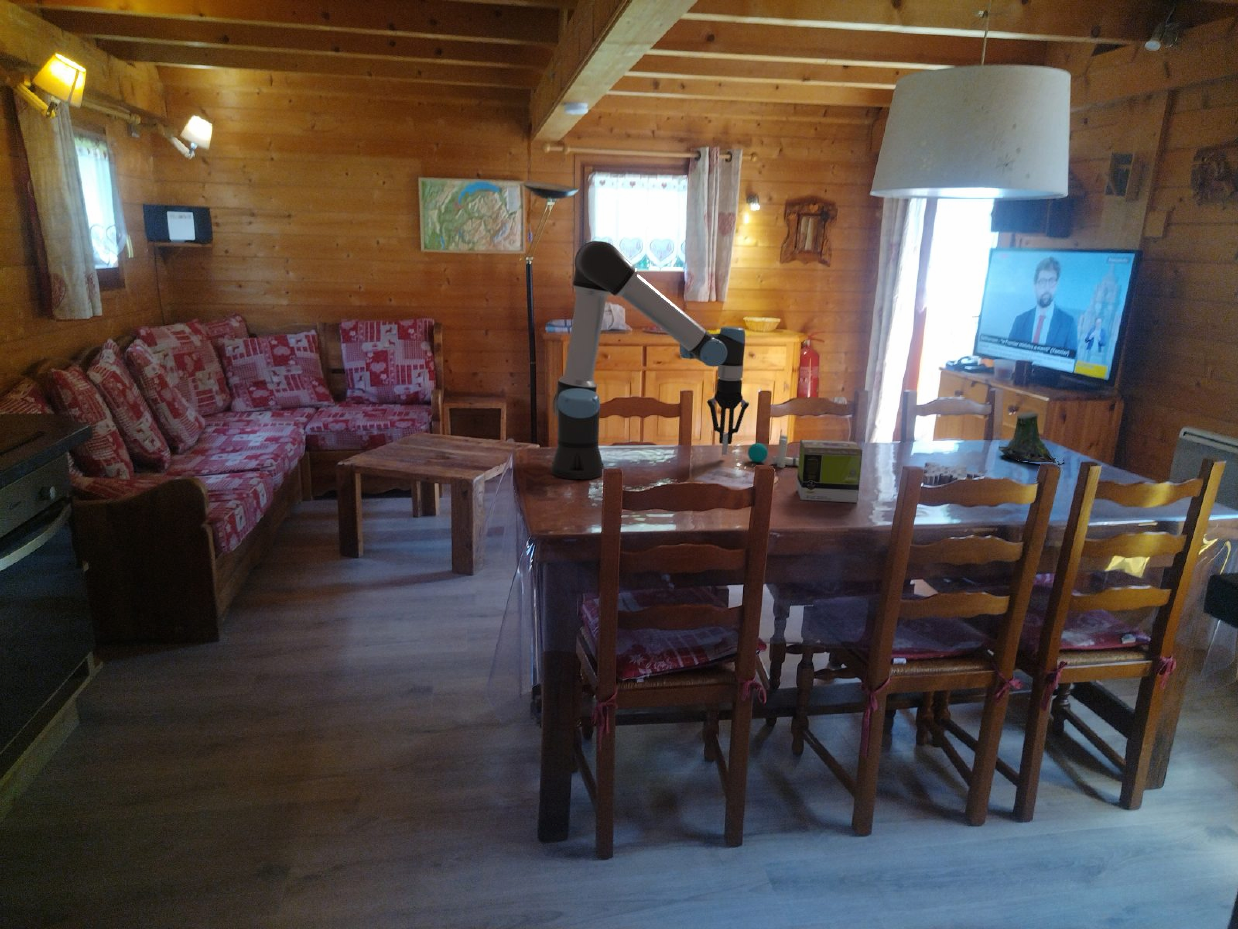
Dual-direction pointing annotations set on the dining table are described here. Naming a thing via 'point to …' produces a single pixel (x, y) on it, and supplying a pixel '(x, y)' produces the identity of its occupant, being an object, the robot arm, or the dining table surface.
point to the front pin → (788, 461)
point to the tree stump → (1027, 441)
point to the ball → (757, 452)
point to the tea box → (829, 470)
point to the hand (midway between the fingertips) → (724, 453)
